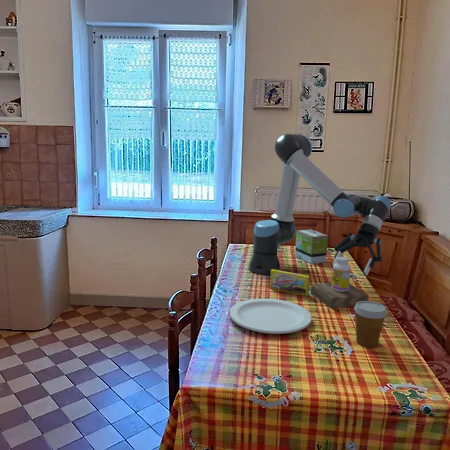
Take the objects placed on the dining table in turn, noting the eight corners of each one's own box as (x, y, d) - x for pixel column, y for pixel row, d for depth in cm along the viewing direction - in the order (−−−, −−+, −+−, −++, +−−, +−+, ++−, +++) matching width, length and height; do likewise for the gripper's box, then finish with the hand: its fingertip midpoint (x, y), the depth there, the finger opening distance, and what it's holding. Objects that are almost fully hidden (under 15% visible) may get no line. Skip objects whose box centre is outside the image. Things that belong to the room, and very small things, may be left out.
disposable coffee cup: (358, 332, 135) (361, 298, 133) (387, 342, 129) (391, 306, 127) (346, 343, 128) (349, 306, 126) (376, 353, 122) (381, 315, 120)
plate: (224, 333, 132) (224, 326, 132) (234, 301, 159) (234, 295, 159) (313, 342, 128) (314, 335, 128) (308, 307, 156) (309, 301, 155)
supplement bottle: (328, 287, 166) (330, 256, 164) (342, 286, 168) (345, 255, 165) (336, 293, 160) (339, 260, 157) (351, 291, 161) (354, 260, 159)
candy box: (269, 288, 174) (270, 270, 173) (271, 287, 176) (272, 268, 174) (306, 296, 167) (308, 276, 165) (308, 294, 169) (309, 275, 167)
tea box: (294, 256, 225) (295, 230, 222) (309, 255, 230) (311, 228, 227) (310, 264, 212) (312, 236, 209) (326, 262, 216) (328, 234, 213)
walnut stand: (330, 308, 155) (331, 298, 154) (310, 293, 170) (311, 284, 169) (367, 305, 159) (368, 295, 158) (345, 290, 174) (345, 281, 174)
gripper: (401, 238, 168) (381, 282, 160) (345, 228, 185) (325, 267, 178) (397, 227, 163) (376, 271, 156) (340, 218, 180) (319, 257, 173)
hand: (349, 269), depth 167 cm, fingers open, 13 cm apart
